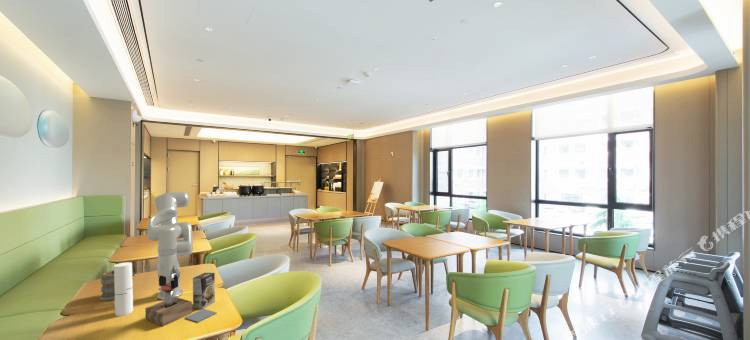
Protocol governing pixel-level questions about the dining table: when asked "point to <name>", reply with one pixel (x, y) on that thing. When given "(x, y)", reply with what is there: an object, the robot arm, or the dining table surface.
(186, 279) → the dining table surface
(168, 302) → the red topped grey cylinder
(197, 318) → the mat
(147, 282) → the dining table surface
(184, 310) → the block
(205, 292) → the coffee box
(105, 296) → the tankard
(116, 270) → the cylindrical container
